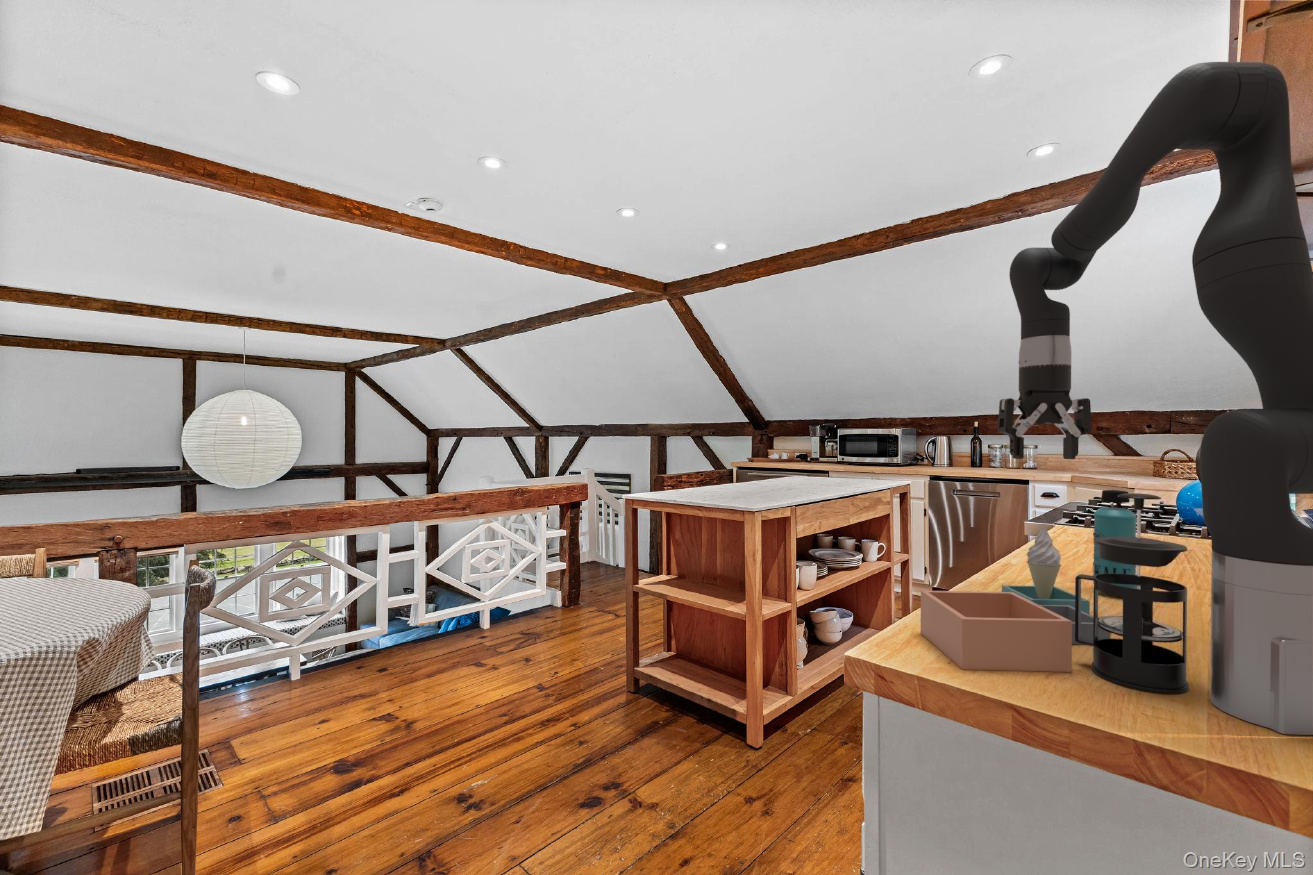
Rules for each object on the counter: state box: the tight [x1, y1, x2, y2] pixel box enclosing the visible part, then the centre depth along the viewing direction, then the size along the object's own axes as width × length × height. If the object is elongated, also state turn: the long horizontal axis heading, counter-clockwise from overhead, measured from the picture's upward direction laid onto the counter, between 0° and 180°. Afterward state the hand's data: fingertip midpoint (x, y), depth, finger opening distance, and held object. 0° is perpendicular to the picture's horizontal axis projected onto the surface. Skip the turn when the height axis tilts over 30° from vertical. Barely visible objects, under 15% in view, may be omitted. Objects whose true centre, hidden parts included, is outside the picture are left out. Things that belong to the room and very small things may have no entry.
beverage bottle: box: [1092, 489, 1137, 589], centre depth 108 cm, size 6×7×20 cm
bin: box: [920, 590, 1073, 673], centre depth 81 cm, size 14×14×6 cm
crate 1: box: [1001, 584, 1091, 615], centre depth 100 cm, size 9×9×3 cm
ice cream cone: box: [1026, 523, 1062, 599], centre depth 100 cm, size 5×5×15 cm
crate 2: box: [1040, 605, 1112, 645], centre depth 88 cm, size 9×9×3 cm
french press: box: [1074, 492, 1190, 695], centre depth 73 cm, size 12×9×23 cm
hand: (1043, 458), depth 100 cm, fingers open, 8 cm apart
